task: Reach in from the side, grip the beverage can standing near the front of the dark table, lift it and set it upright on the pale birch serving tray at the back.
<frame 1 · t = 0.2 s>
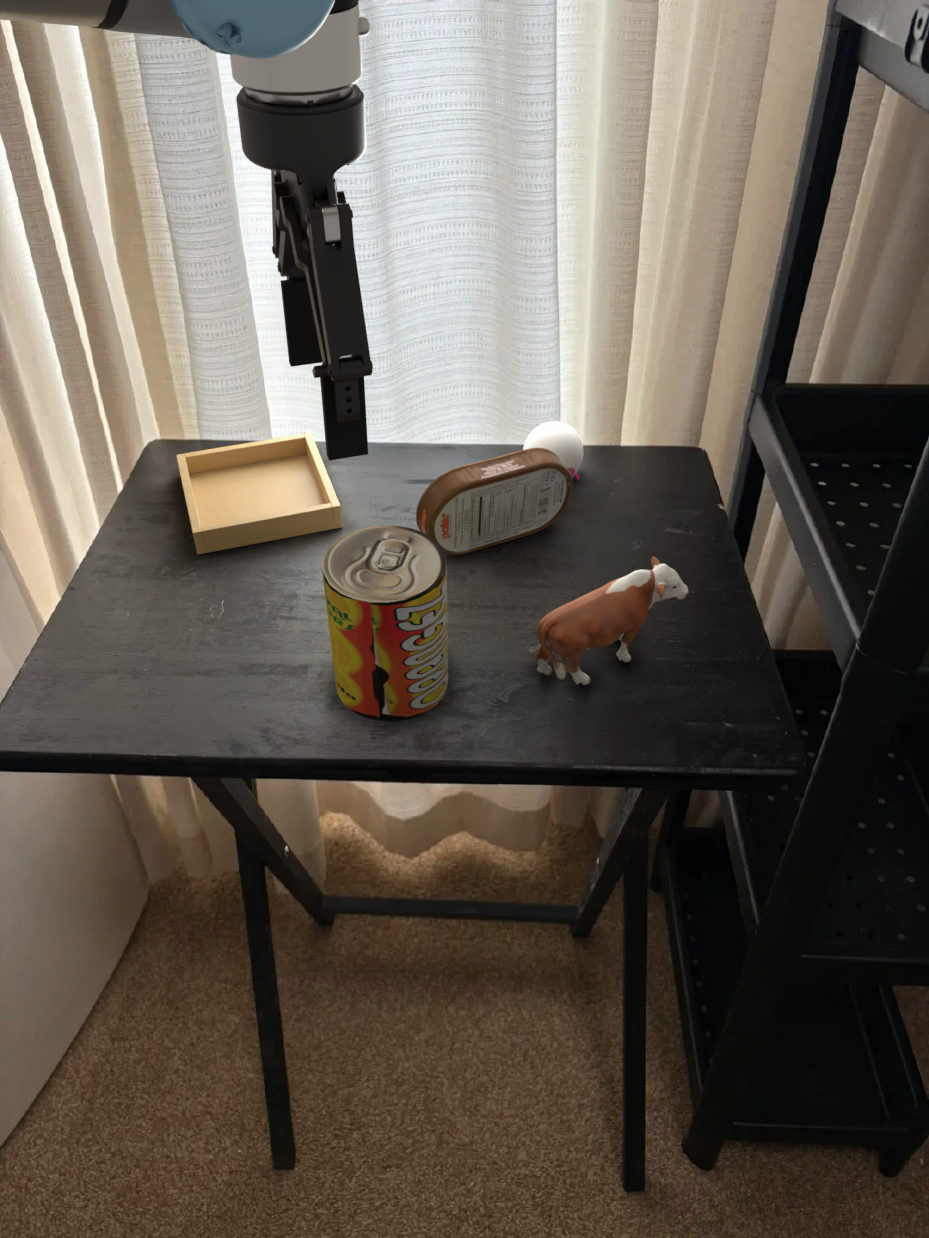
hand: (326, 406, 75), 21 cm above the table, tool pointing down, fingers open, 13 cm apart
serving tray: (259, 500, 102), on the table
stress ball: (545, 479, 105), on the table
tin: (496, 540, 98), on the table
bull figurine: (603, 661, 85), on the table
beverage can: (392, 681, 84), on the table
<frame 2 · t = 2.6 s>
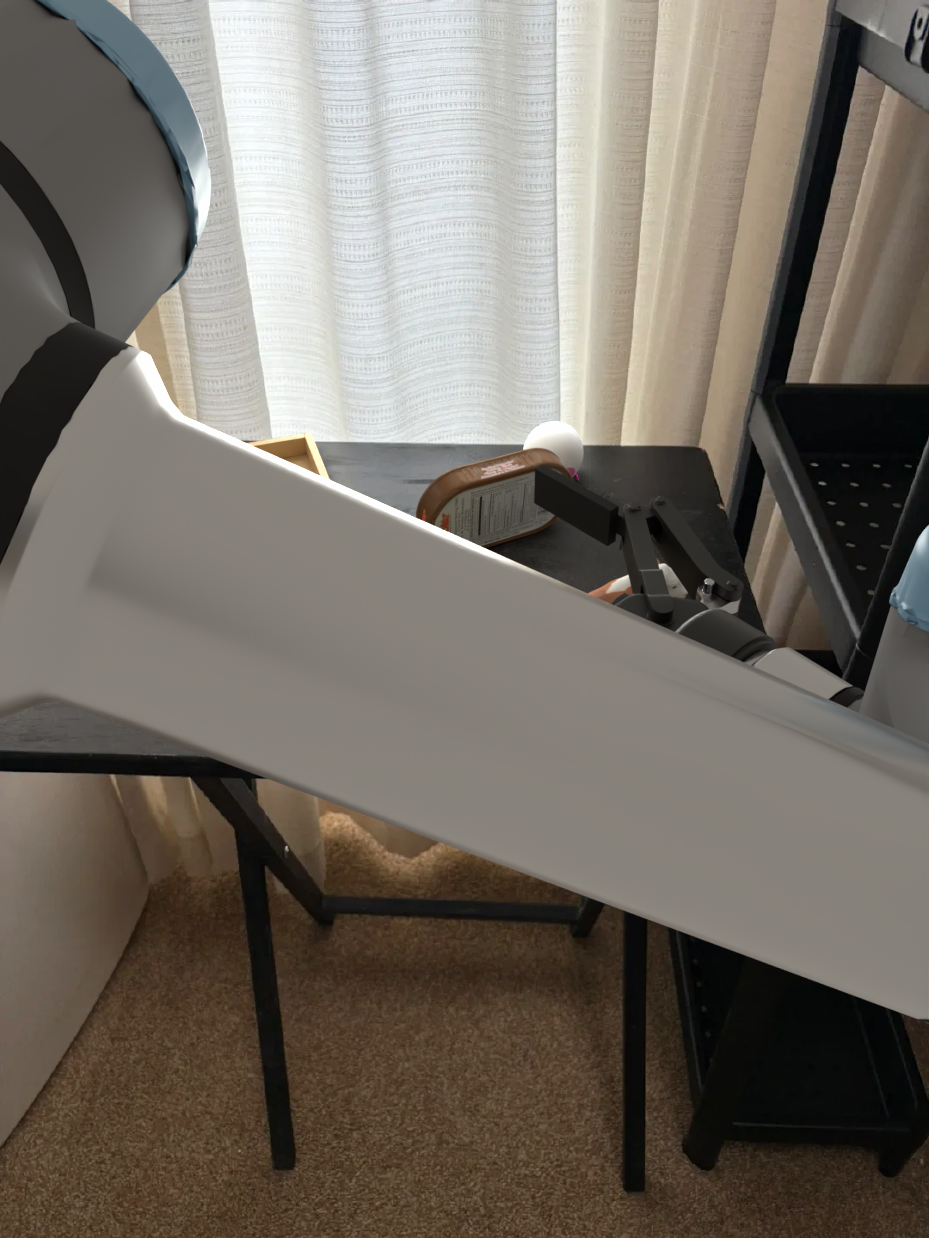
hand: (460, 526, 65), 20 cm above the table, tool horizontal, fingers open, 13 cm apart
nothing on the table moved.
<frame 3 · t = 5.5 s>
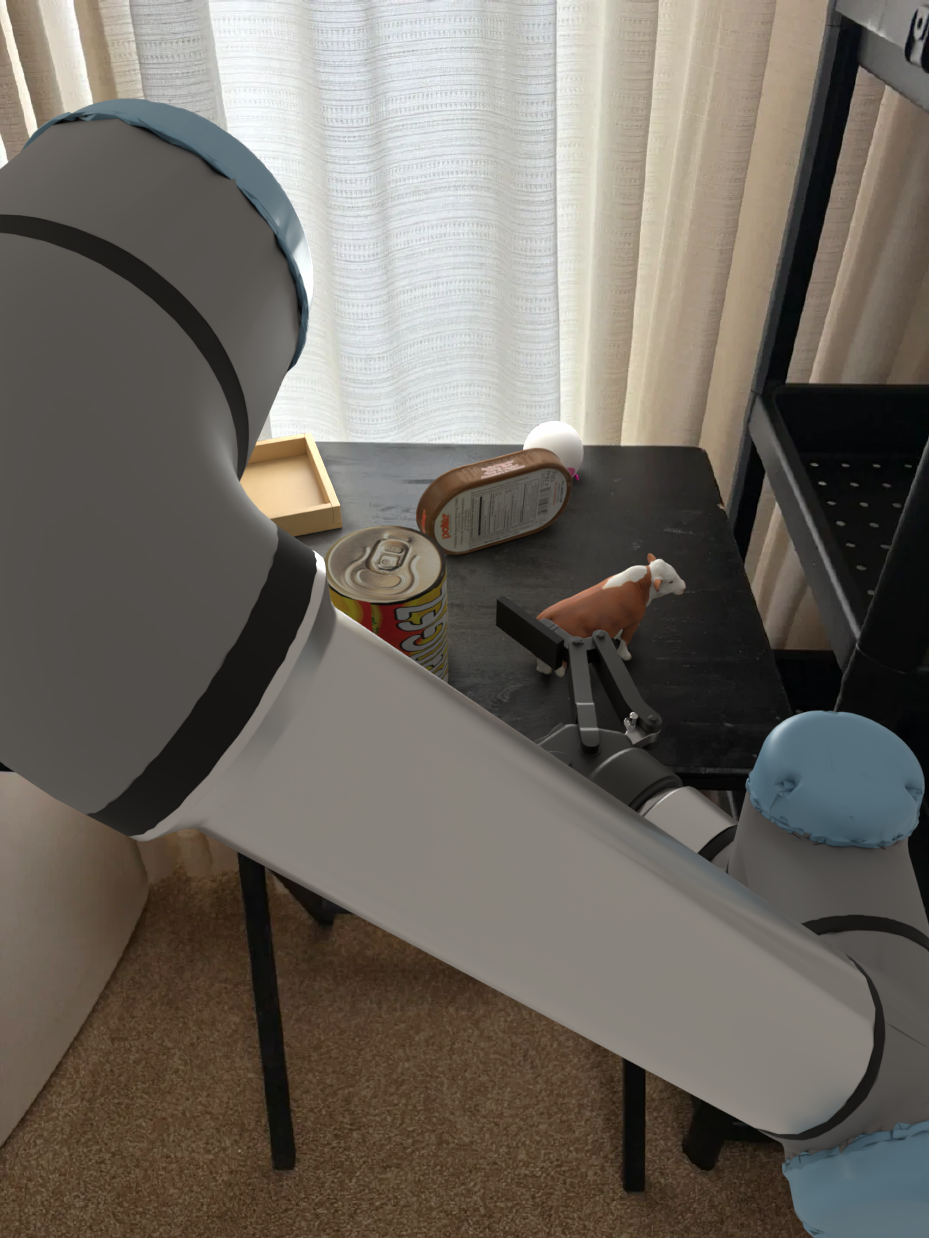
hand: (429, 649, 76), 7 cm above the table, tool horizontal, fingers open, 13 cm apart
bull figurine: (603, 660, 85), on the table, touching gripper
everything else where it was.
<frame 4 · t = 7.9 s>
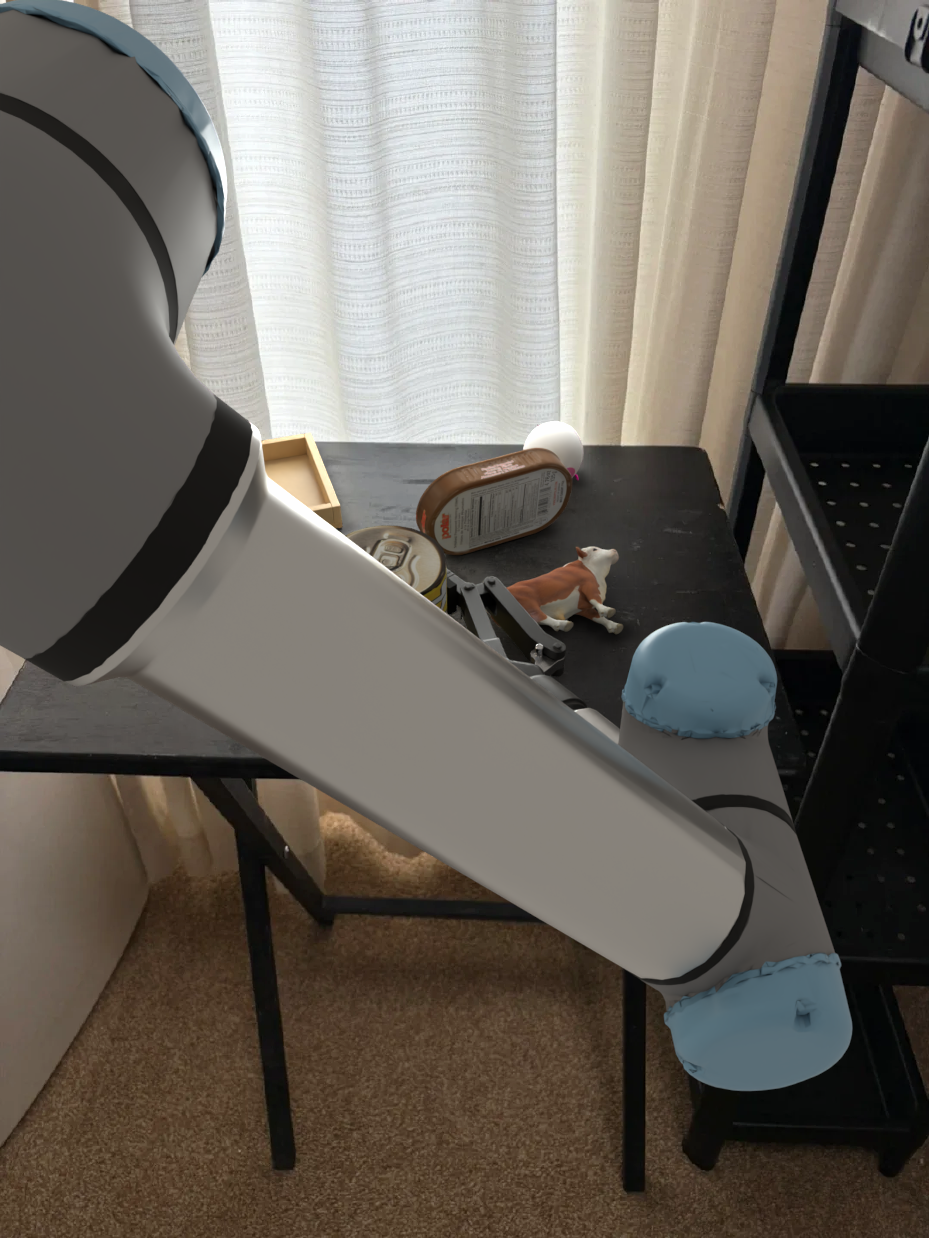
hand: (352, 585, 81), 7 cm above the table, tool horizontal, fingers closed on beverage can, 9 cm apart
bull figurine: (596, 629, 85), point 2 cm above the table
beverage can: (392, 681, 84), on the table, touching gripper
everything else where it was.
when the fingers open (7 cm above the table, at t = 17.1 s): beverage can stays where it is, resting on serving tray.
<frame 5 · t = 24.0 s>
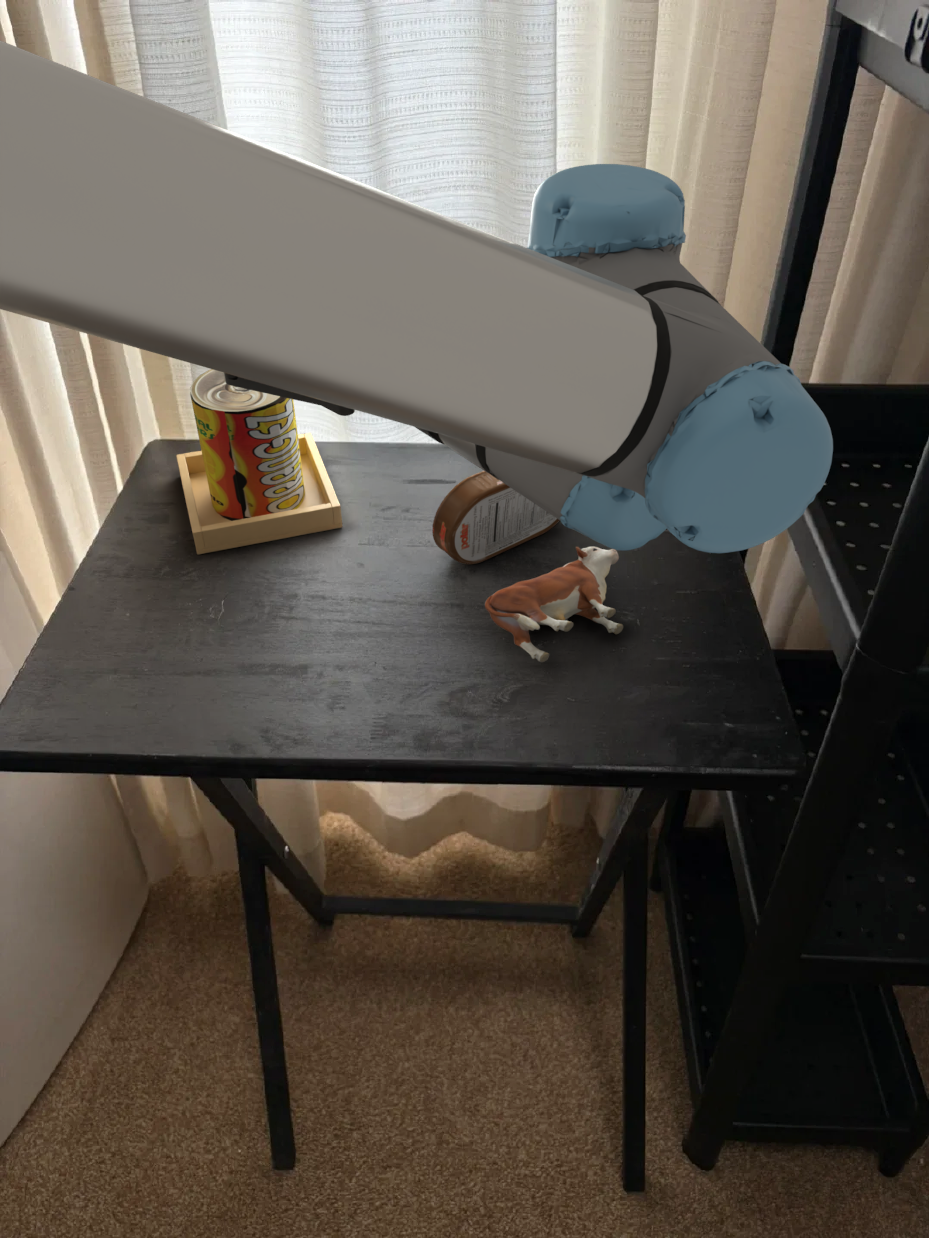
hand: (287, 285, 78), 26 cm above the table, tool horizontal, fingers open, 13 cm apart
tin: (506, 545, 97), on the table
beverage can: (258, 498, 102), resting on serving tray
everything else where it was.
at the end: beverage can inside the target area in the serving tray (0.0 cm from its centre), point 0.3 cm above the serving tray's base; beverage can tilted 0°; the gripper is holding nothing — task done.
